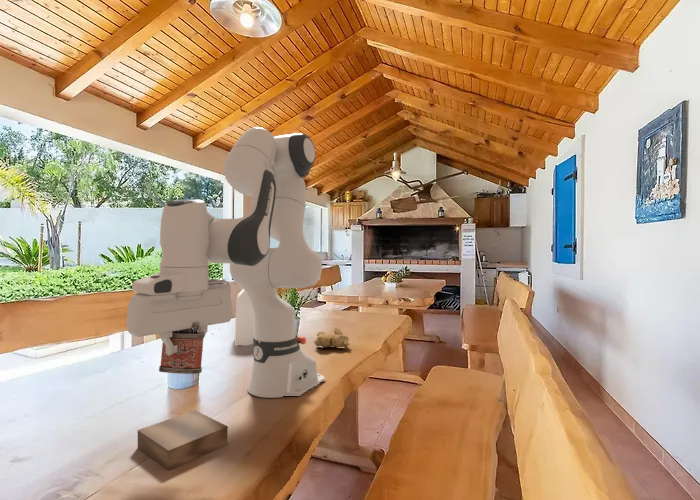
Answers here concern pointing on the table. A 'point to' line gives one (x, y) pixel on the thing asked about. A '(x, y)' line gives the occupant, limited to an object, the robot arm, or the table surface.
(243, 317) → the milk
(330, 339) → the ginger root
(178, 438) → the walnut base
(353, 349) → the table surface
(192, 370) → the lighter
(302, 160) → the robot arm
